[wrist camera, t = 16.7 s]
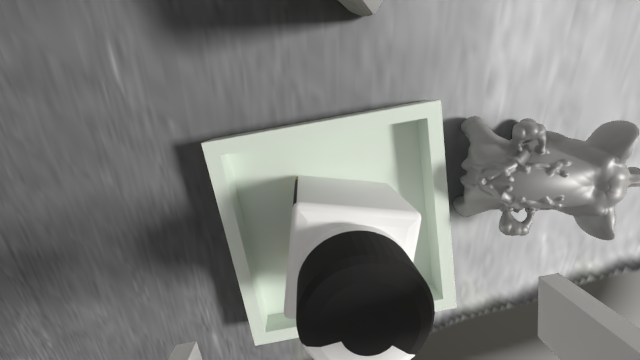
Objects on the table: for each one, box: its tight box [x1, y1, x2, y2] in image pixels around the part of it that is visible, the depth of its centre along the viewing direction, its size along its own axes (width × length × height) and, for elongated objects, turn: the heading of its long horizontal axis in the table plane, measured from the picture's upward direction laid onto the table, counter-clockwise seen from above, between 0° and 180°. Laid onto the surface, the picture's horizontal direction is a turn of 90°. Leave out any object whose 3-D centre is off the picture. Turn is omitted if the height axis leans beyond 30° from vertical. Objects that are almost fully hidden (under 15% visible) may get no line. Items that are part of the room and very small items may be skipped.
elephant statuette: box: [453, 116, 640, 240], centre depth 21 cm, size 9×12×8 cm
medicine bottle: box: [284, 175, 435, 360], centre depth 19 cm, size 7×7×12 cm
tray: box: [201, 100, 457, 346], centre depth 24 cm, size 16×16×3 cm
